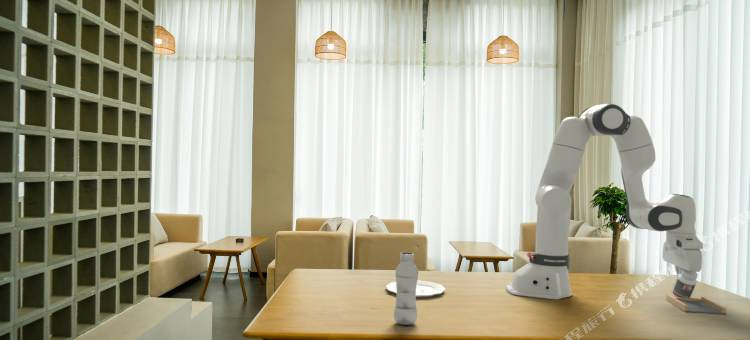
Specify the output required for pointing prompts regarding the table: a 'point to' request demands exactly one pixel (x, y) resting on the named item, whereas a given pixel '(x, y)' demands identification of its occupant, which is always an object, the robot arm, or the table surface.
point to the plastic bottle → (406, 290)
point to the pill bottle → (685, 284)
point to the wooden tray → (696, 305)
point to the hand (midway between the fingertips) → (680, 279)
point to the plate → (426, 286)
